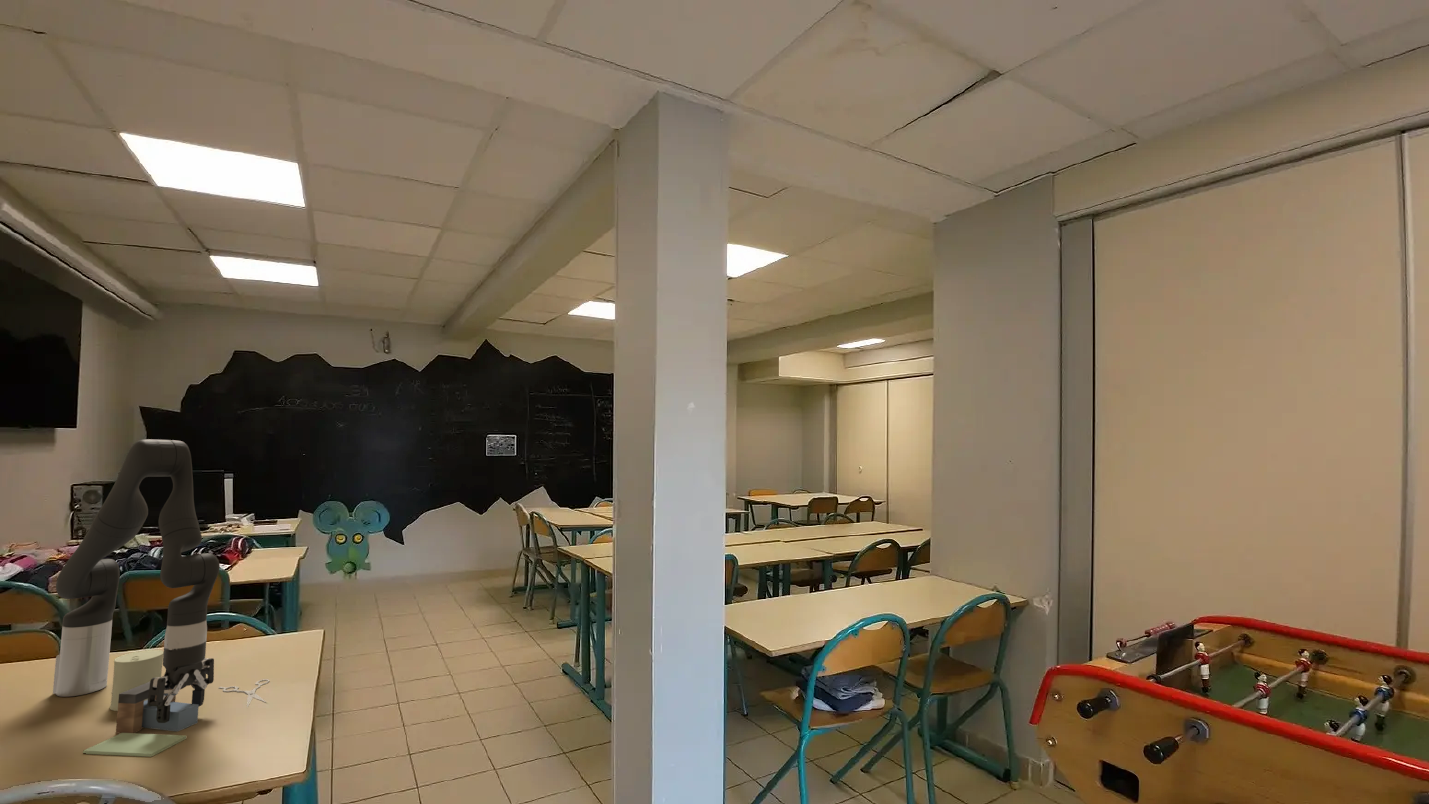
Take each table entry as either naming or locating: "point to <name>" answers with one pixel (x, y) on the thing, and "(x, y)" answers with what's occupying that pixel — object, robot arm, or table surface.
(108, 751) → the pad
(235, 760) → the table surface
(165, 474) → the robot arm
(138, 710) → the block arch
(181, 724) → the blue slab
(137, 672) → the can
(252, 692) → the scissors
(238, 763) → the table surface
